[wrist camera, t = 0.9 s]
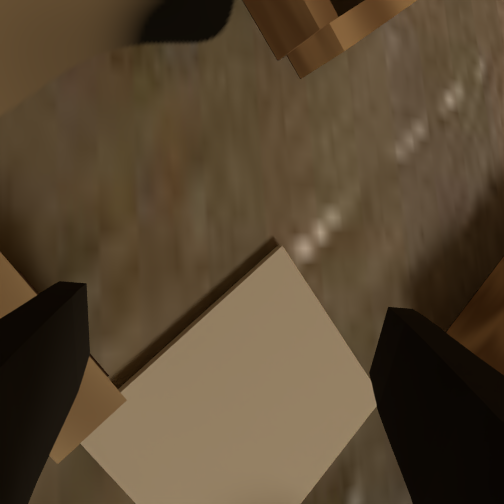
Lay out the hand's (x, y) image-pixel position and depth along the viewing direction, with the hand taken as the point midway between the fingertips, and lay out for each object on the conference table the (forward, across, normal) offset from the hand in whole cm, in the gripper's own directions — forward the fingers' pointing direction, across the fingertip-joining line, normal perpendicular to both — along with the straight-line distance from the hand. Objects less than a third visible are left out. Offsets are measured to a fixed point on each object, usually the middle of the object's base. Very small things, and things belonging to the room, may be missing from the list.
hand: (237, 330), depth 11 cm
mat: (+10, -2, +12) cm, 16 cm away
